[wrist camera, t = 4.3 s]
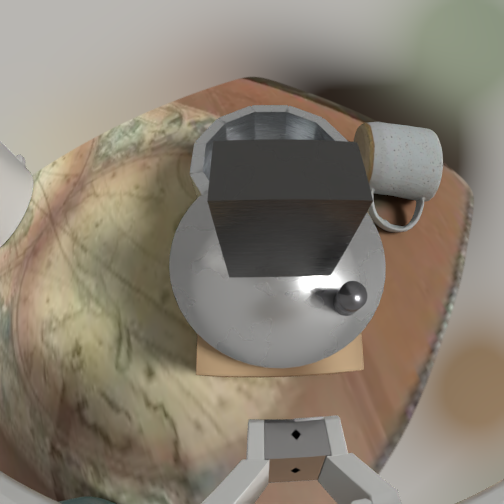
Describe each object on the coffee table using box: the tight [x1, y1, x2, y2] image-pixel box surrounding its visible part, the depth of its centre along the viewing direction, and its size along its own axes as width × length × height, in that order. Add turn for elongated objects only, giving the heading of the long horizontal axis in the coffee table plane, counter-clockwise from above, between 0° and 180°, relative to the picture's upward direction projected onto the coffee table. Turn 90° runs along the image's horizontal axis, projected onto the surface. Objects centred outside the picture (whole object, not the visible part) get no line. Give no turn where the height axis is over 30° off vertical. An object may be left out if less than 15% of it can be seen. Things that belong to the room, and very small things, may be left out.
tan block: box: [196, 333, 364, 377], centre depth 22 cm, size 10×9×7 cm
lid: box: [169, 139, 385, 369], centre depth 15 cm, size 14×14×9 cm
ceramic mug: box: [354, 122, 443, 232], centre depth 26 cm, size 11×8×8 cm
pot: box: [190, 105, 348, 198], centre depth 26 cm, size 13×13×7 cm
